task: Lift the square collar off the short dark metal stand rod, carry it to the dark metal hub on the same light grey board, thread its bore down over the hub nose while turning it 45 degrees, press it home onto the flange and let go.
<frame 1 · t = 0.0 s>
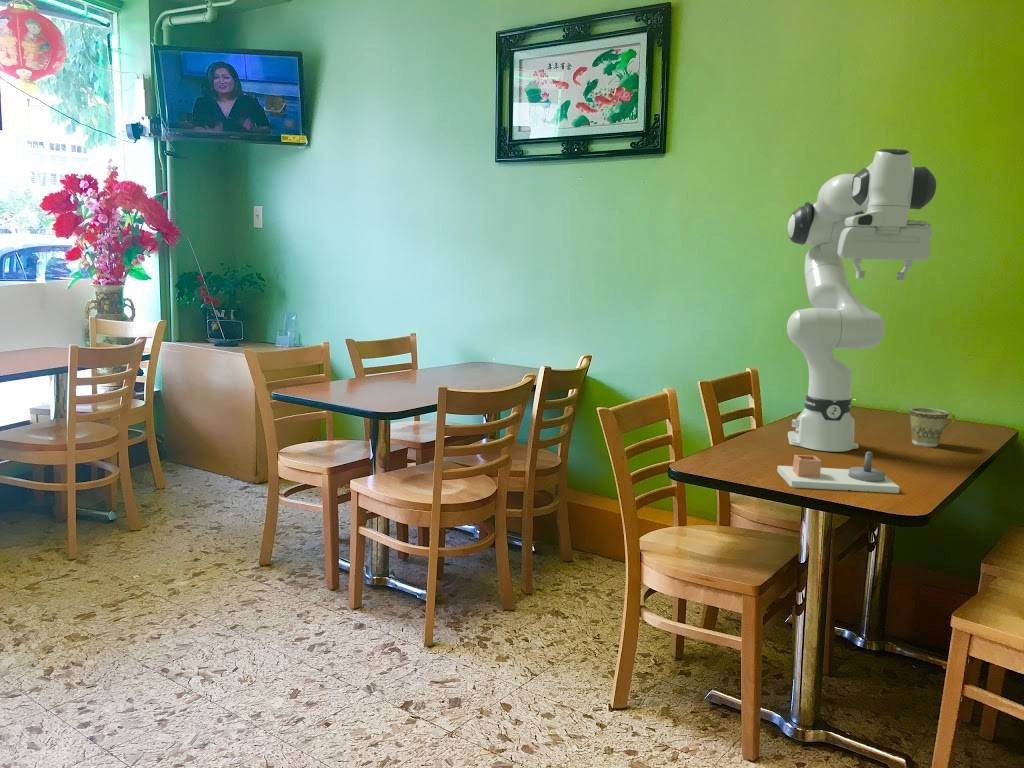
hand: (880, 279, 192), 48 cm above the table, fingers open, 8 cm apart
ceramic cup: (929, 445, 237), on the table
collar: (806, 474, 194), point 1 cm above the table, touching board
board: (835, 481, 193), on the table
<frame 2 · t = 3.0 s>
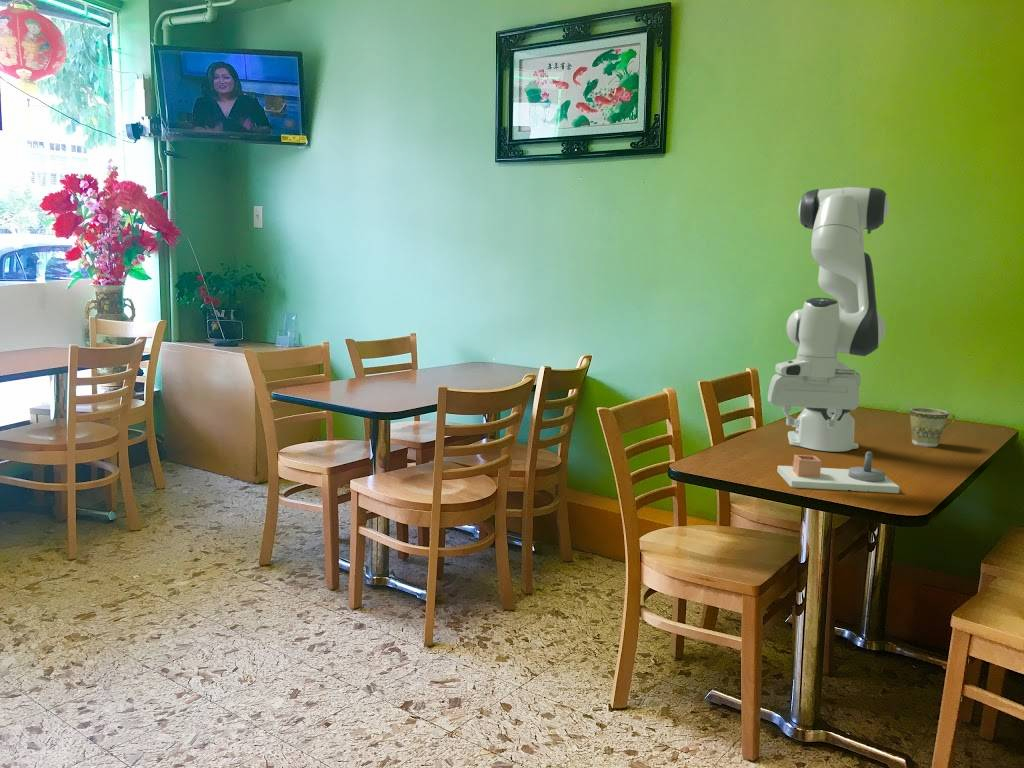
hand: (810, 426, 191), 13 cm above the table, fingers open, 8 cm apart
nothing on the table moved.
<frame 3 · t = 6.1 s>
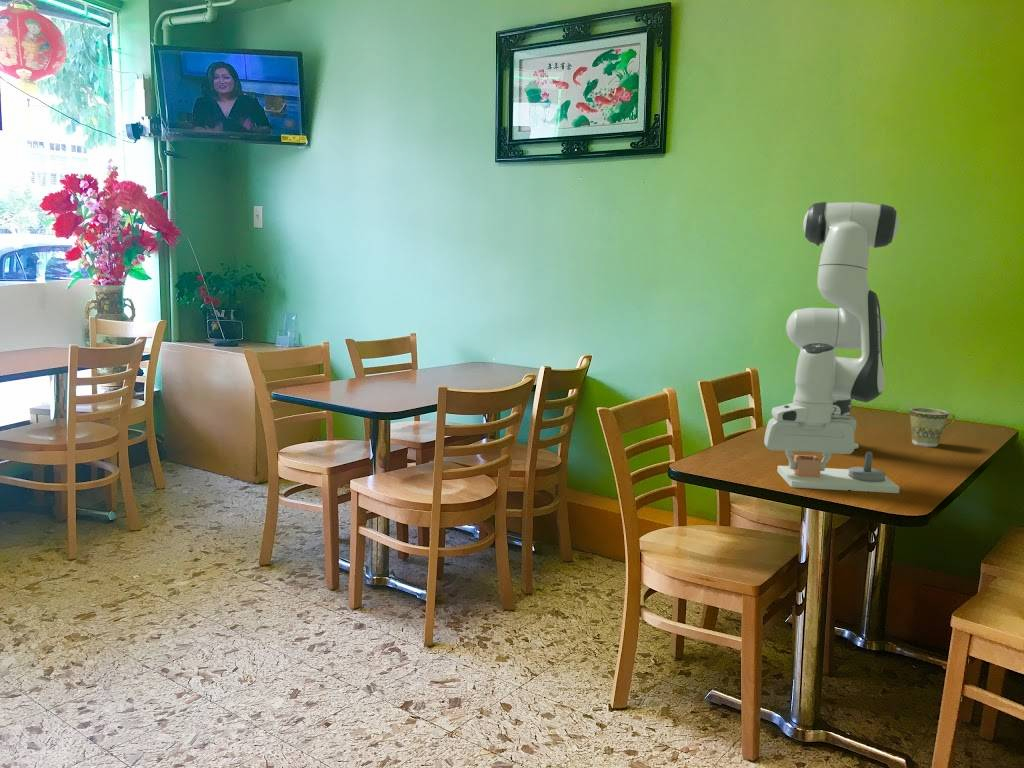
hand: (806, 469, 193), 3 cm above the table, fingers closed on collar, 5 cm apart
collar: (806, 474, 194), point 2 cm above the table, touching board, gripper
everything else where it was.
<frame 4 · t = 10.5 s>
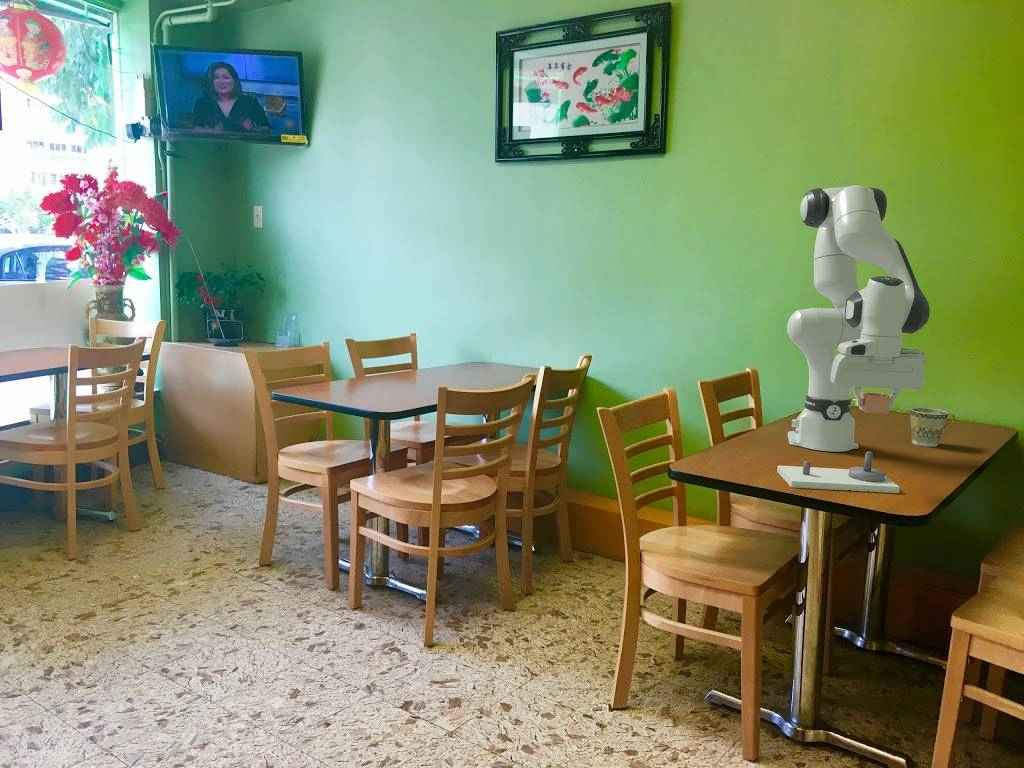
hand: (873, 406, 190), 19 cm above the table, fingers closed on collar, 5 cm apart
collar: (873, 411, 190), point 18 cm above the table, touching gripper
everything else where it was.
when the fingers open (4 cm above the table, at t = 14.7 s): collar stays where it is, resting on board.
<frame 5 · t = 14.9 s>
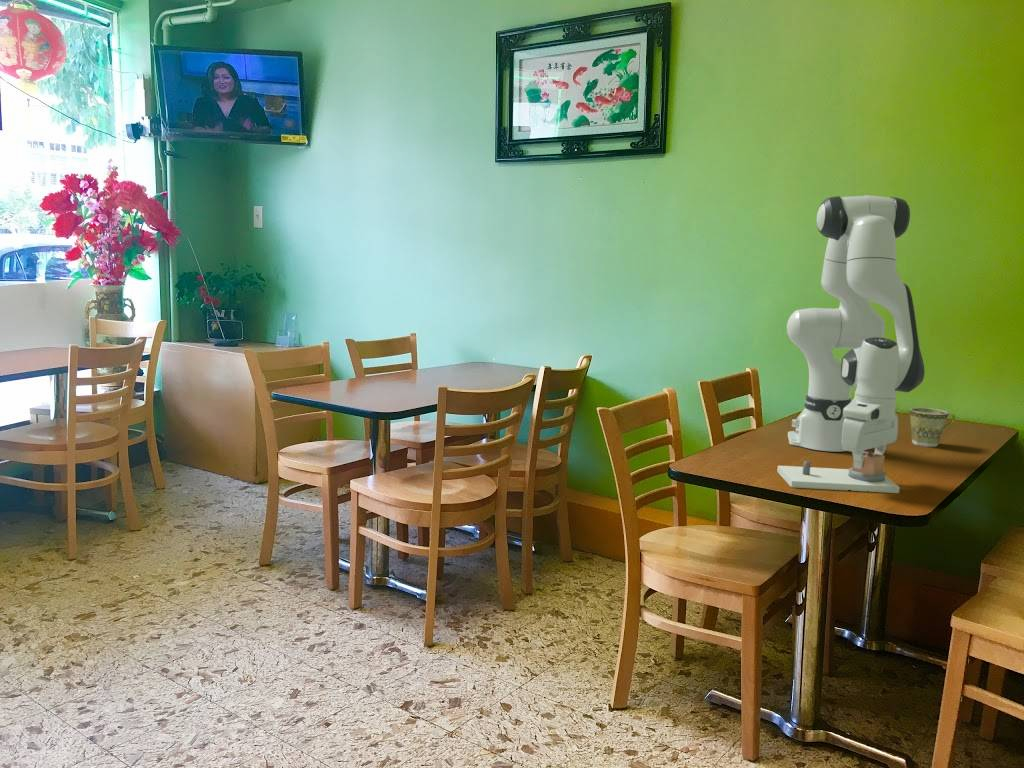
hand: (867, 465, 192), 4 cm above the table, fingers open, 7 cm apart
collar: (867, 471, 192), point 3 cm above the table, touching board
everything else where it was.
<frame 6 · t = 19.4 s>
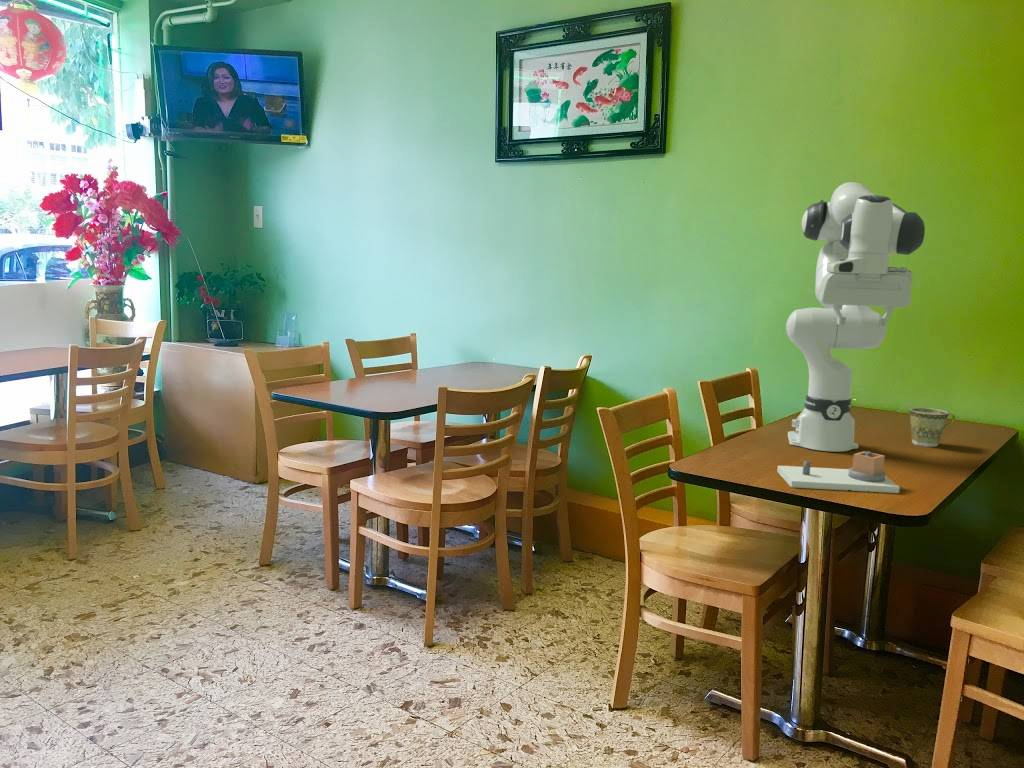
hand: (861, 325, 192), 37 cm above the table, fingers open, 8 cm apart
nothing on the table moved.
at the end: collar 0.1 cm from the target spot on the board, point 3.0 cm above the board's base; collar tilted 0°; the gripper is holding nothing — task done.
